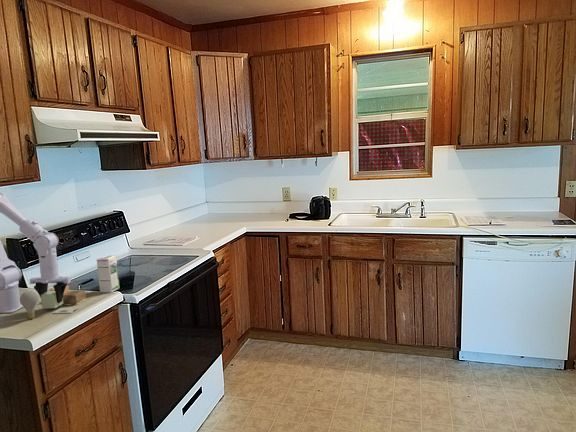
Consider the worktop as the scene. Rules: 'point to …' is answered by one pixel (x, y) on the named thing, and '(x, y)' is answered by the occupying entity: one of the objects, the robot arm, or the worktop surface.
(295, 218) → the worktop surface
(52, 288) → the terracotta block
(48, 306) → the sage block
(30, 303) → the light bulb
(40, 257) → the robot arm
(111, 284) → the syrup box
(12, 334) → the worktop surface
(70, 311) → the card
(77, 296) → the walnut block
